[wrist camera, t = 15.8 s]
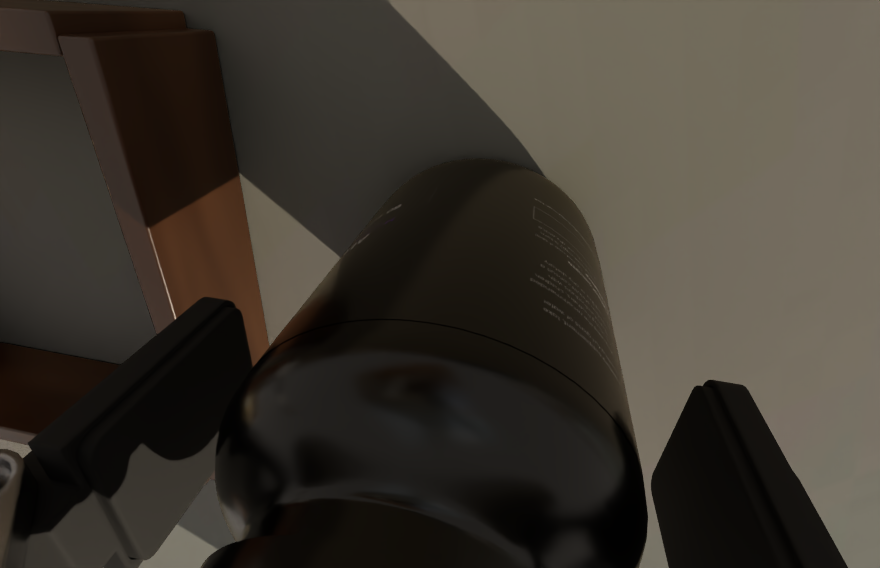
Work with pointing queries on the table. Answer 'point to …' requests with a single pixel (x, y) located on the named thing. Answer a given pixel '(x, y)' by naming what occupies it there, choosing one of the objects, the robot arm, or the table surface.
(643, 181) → the table surface
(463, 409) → the supplement bottle
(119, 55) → the walnut caddy
